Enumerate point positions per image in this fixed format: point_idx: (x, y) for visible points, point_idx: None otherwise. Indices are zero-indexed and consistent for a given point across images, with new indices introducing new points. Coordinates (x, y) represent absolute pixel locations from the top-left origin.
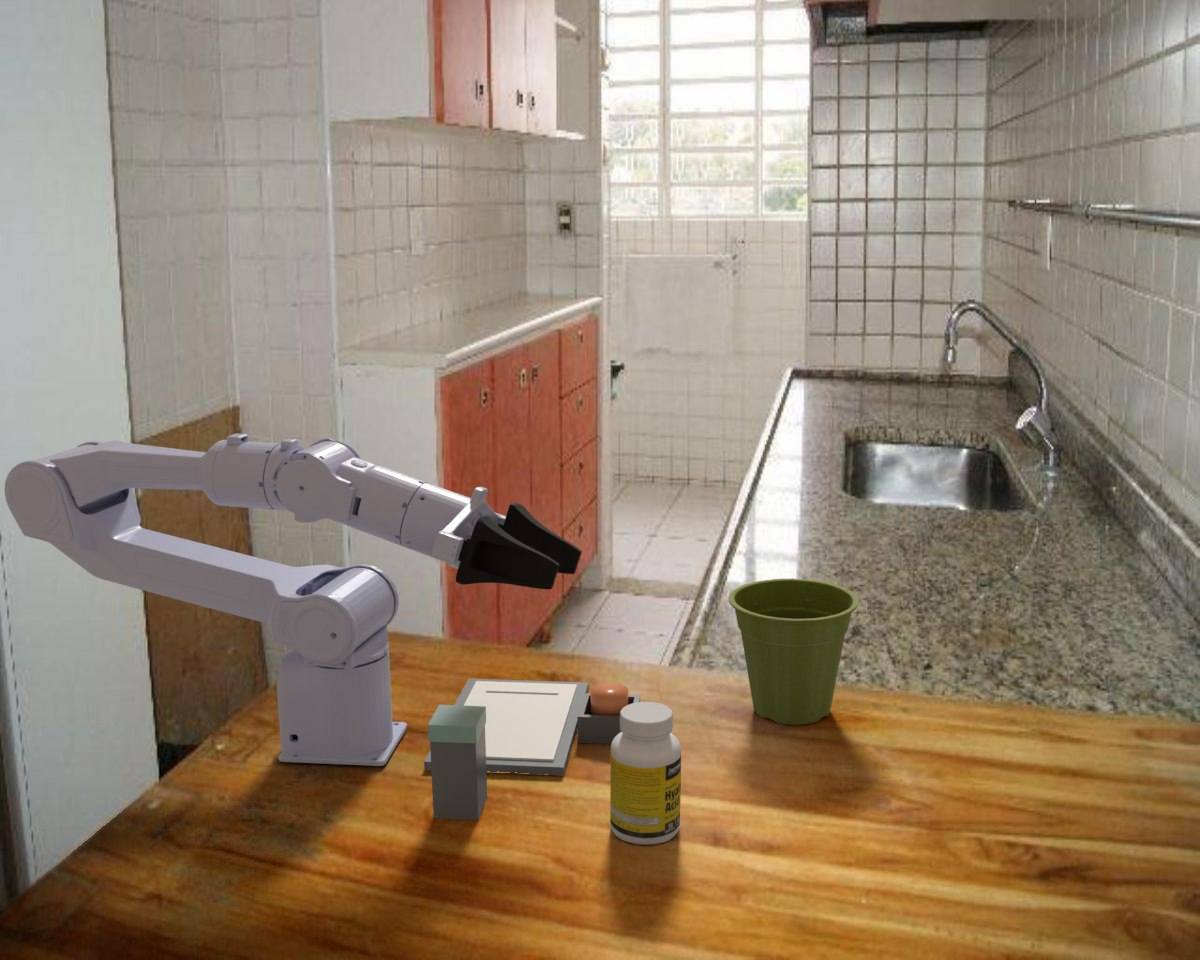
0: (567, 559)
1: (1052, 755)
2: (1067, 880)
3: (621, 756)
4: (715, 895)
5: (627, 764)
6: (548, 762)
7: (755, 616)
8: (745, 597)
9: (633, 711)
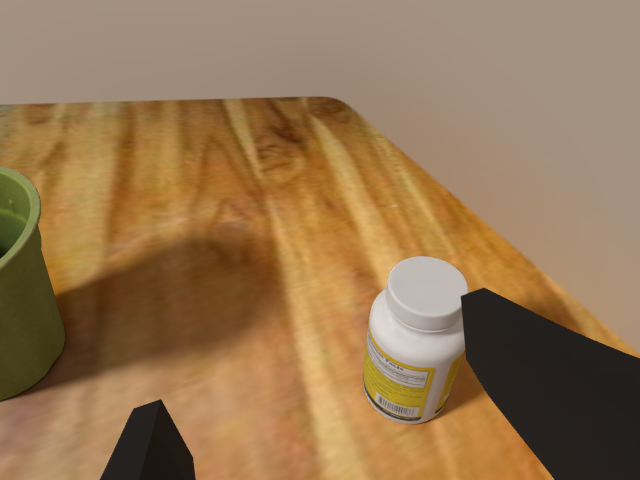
0: (176, 461)
1: (95, 154)
2: (294, 132)
3: None
4: None
5: None
6: None
7: (15, 255)
8: None
9: (438, 298)
